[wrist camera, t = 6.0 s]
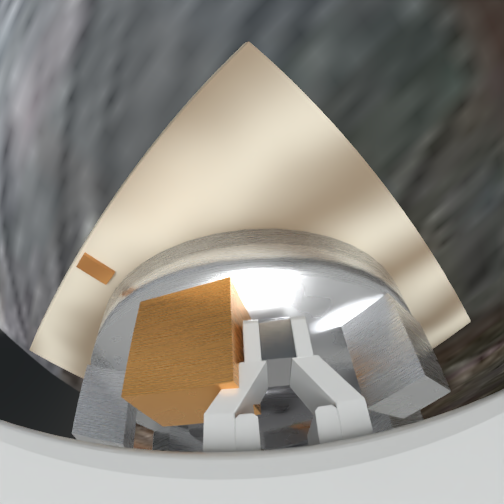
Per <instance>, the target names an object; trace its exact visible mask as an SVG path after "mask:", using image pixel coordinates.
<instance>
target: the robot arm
mask: <svg viewBox="0 0 504 504" xmlns="http://www.w3.org/2000/svg"><path fill="white" fill-rule="evenodd" d="M258 322H259V324H258ZM243 345H244V362H240V363H239V388H233V389H221V391H220V392H219V393H218V395H217V396H216V398H215V399H214V401H213V402H212V403H211V405H210V406H209V408H208V409H207V410H206V412H205V413H204V430H203V452H175V451H158V450H146V449H135V448H126V447H118V446H111V445H104V444H97V443H91V442H86V441H80V440H75V439H70V438H65V437H61V436H56V435H52V434H47V433H44V432H40V431H36V430H32V429H28V428H25V427H21V426H18V425H15V424H11V423H8V422H5V421H2V420H0V504H504V389H503V390H500V391H498V392H496V393H494V394H492V395H489V396H487V397H485V398H482V399H480V400H477V401H475V402H473V403H470V404H468V405H465V406H462V407H460V408H457V409H454V410H452V411H449V412H446V413H443V414H440V415H437V416H434V417H431V418H428V419H425V420H422V421H419V422H415V423H412V424H408V425H405V426H401V427H398V428H394V429H390V430H386V431H382V432H378V433H373V429H372V425H371V421H370V417H369V413H368V409H367V405H366V401H365V398H364V397H363V396H362V395H361V394H360V393H359V392H357V391H356V390H355V389H354V388H353V387H352V386H351V385H350V384H349V383H348V382H347V381H346V380H344V379H343V378H342V377H341V376H340V375H339V374H338V373H337V372H336V371H335V370H334V369H333V368H331V367H330V366H329V365H328V364H327V363H326V362H325V361H324V360H323V359H322V358H321V357H320V356H319V355H314V354H313V349H312V344H311V340H310V335H309V330H308V326H307V321H306V318H305V316H294V317H281V318H271V319H259V320H244V321H243ZM287 385H290V387H291V389H292V390H293V391H294V392H295V393H296V395H297V396H298V397H299V398H300V399H301V401H302V402H303V403H304V404H305V405H306V407H307V408H308V409H309V410H310V411H311V412H312V414H313V415H314V416H313V419H312V422H311V425H310V428H309V431H308V434H307V437H308V446H301V447H292V448H283V449H272V450H261V439H260V430H259V421H258V416H256V415H255V414H254V408H253V405H254V404H260V403H261V401H262V399H263V397H264V395H265V393H266V391H267V389H268V387H275V386H287Z"/></svg>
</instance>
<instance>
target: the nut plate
mask: <svg viewBox="0 0 504 504" xmlns="http://www.w3.org/2000/svg"><path fill="white" fill-rule="evenodd" d="M245 229H286V230H297V231H306V232H310V233H315V234H319V235H324V236H328V237H332V238H334V239H337V240H340V241H343V242H345V243H348V244H351V245H353V246H355V247H356V248H358V249H360V250H362V251H363V252H365V253H367V254H369V255H370V256H371V257H373V258H374V259H375V260H376V261H377V262H379V263H380V264H381V265H382V266H383V267H384V268H385V269H386V270H387V272H388V273H389V274H390V275H391V277H392V278H393V280H394V282H395V283H396V285H397V287H398V289H399V291H400V293H401V295H402V297H403V299H404V300H405V302H406V304H407V306H408V308H409V310H410V312H411V314H412V316H413V317H414V318H415V319H416V320H417V321H418V322H419V323H420V324H421V326H422V328H423V330H424V332H425V334H426V337H427V339H428V341H429V343H430V345H431V347H432V349H433V348H434V347H436V346H437V345H439V344H440V343H442V342H443V341H445V340H446V339H447V338H449V337H450V336H452V335H453V334H454V333H456V332H457V331H459V330H460V329H461V328H463V327H464V326H465V325H467V324H468V323H469V322H471V321H470V319H469V317H468V315H467V313H466V311H465V309H464V307H463V305H462V304H461V302H460V300H459V298H458V296H457V295H456V293H455V291H454V289H453V288H452V286H451V284H450V282H449V281H448V279H447V277H446V276H445V274H444V272H443V271H442V269H441V267H440V266H439V264H438V262H437V261H436V259H435V258H434V256H433V254H432V253H431V251H430V250H429V248H428V247H427V245H426V244H425V242H424V240H423V239H422V237H421V236H420V234H419V233H418V231H417V230H416V229H415V227H414V226H413V224H412V223H411V221H410V220H409V218H408V217H407V216H406V214H405V213H404V211H403V210H402V208H401V207H400V206H399V204H398V203H397V202H396V200H395V199H394V198H393V196H392V195H391V193H390V192H389V191H388V189H387V188H386V187H385V186H384V184H383V183H382V182H381V180H380V179H379V178H378V176H377V175H376V174H375V173H374V171H373V170H372V169H371V168H370V166H369V165H368V164H367V163H366V161H365V160H364V159H363V158H362V157H361V155H360V154H359V153H358V152H357V151H356V149H355V148H354V147H353V146H352V145H351V144H350V142H349V141H348V140H347V139H346V138H345V137H344V135H343V134H342V133H341V132H340V131H339V130H338V129H337V128H336V126H335V125H334V124H333V123H332V122H331V121H330V120H329V119H328V118H327V117H326V115H325V114H324V113H323V112H322V111H321V110H320V109H319V108H318V107H317V106H316V105H315V104H314V103H313V102H312V101H311V100H310V99H309V98H308V96H307V95H306V94H305V93H304V92H303V91H302V90H301V89H300V88H299V87H298V86H297V85H296V84H295V83H294V82H293V81H291V80H290V79H289V78H288V77H287V76H286V75H285V74H284V73H283V72H282V71H281V70H280V69H279V68H278V67H277V66H276V65H275V64H274V63H272V62H271V61H270V60H269V59H268V58H267V57H266V56H265V55H264V54H263V53H261V52H260V51H259V50H258V49H257V48H256V47H255V46H253V45H252V44H251V43H250V42H246V43H245V44H243V45H242V46H241V47H240V48H239V49H238V50H237V51H236V52H235V53H234V54H233V55H232V56H231V57H230V58H229V59H228V60H227V61H226V62H225V63H224V64H223V65H222V66H221V67H220V68H219V69H218V70H217V71H216V72H215V73H214V74H213V75H212V76H211V77H210V78H209V79H208V81H207V82H206V83H205V84H204V85H203V86H202V87H201V88H200V89H199V90H198V91H197V92H196V94H195V95H194V96H193V97H192V98H191V99H190V100H189V101H188V102H187V104H186V105H185V106H184V107H183V108H182V109H181V110H180V112H179V113H178V114H177V115H176V116H175V117H174V119H173V120H172V121H171V122H170V123H169V125H168V126H167V127H166V128H165V129H164V131H163V132H162V133H161V134H160V136H159V137H158V138H157V139H156V141H155V142H154V143H153V144H152V146H151V147H150V148H149V149H148V151H147V152H146V153H145V155H144V156H143V157H142V159H141V160H140V161H139V163H138V164H137V165H136V167H135V168H134V169H133V171H132V172H131V173H130V175H129V176H128V177H127V179H126V180H125V182H124V183H123V184H122V186H121V187H120V189H119V190H118V192H117V193H116V194H115V196H114V197H113V199H112V200H111V202H110V203H109V205H108V206H107V208H106V209H105V211H104V212H103V214H102V215H101V217H100V218H99V220H98V221H97V223H96V225H95V226H94V228H93V229H92V231H91V232H90V234H89V236H88V237H87V239H86V241H85V242H84V244H83V246H82V247H81V249H80V251H79V252H78V254H77V256H76V257H75V259H74V261H73V263H72V264H71V266H70V268H69V270H68V271H67V273H66V275H65V277H64V279H63V281H62V282H61V284H60V286H59V288H58V290H57V292H56V294H55V296H54V298H53V300H52V301H51V303H50V305H49V307H48V309H47V311H46V314H45V316H44V318H43V320H42V322H41V324H40V326H39V328H38V330H37V333H36V335H35V338H34V340H33V343H32V345H31V348H30V351H32V352H34V353H36V354H37V355H39V356H41V357H43V358H44V359H46V360H48V361H50V362H52V363H54V364H56V365H57V366H59V367H61V368H63V369H65V370H67V371H69V372H71V373H73V374H75V375H77V376H79V377H81V378H83V379H84V376H85V372H86V368H87V364H88V365H91V356H92V352H93V349H94V345H95V342H96V338H97V335H98V331H99V328H100V325H101V321H102V318H103V315H104V312H105V309H106V306H107V303H108V300H109V299H110V297H111V295H112V294H113V292H114V290H115V289H116V287H117V286H118V285H119V284H120V283H121V282H122V280H123V279H124V278H125V277H126V276H127V275H128V274H129V273H130V272H132V271H133V270H134V269H135V268H137V267H138V266H139V265H141V264H142V263H143V262H144V261H146V260H148V259H150V258H152V257H153V256H155V255H157V254H159V253H160V252H162V251H164V250H166V249H169V248H171V247H174V246H176V245H179V244H181V243H184V242H187V241H189V240H193V239H197V238H201V237H204V236H208V235H212V234H216V233H223V232H230V231H237V230H245Z"/></svg>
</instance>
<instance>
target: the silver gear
mask: <svg viewBox="0 0 504 504" xmlns="http://www.w3.org/2000/svg"><path fill="white" fill-rule="evenodd" d="M294 316H305V318H306V321H307V326H308V330H309V335H310V340H311V344H312V349H313V354H314V355H319V356H320V357H321V358H322V359H323V360H324V361H325V362H326V363H327V364H328V365H329V366H330V367H331V368H333V369H334V370H335V371H336V372H337V373H338V374H339V375H340V376H341V377H342V378H343V379H344V380H346V381H347V382H348V383H349V384H350V385H351V386H352V387H353V388H354V389H355V390H356V391H357V392H359V393H360V394H361V395H362V396H363V397H364V398H365V401H366V405H367V409H368V413H369V417H370V421H371V425H372V429H373V433H378V432H382V431H386V430H390V429H394V428H398V427H401V426H405V425H408V424H412V423H415V422H419V421H422V420H423V417H422V414H421V411H420V409H422V408H424V407H425V406H427V405H429V404H431V403H432V402H434V401H436V400H437V399H439V398H441V397H442V396H444V395H446V394H447V393H449V392H451V390H450V388H449V385H448V383H447V381H446V378H445V376H444V374H443V371H442V369H441V367H440V365H439V362H438V360H437V358H436V356H435V354H434V351H433V349H432V347H431V345H430V343H429V341H428V339H427V337H426V334H425V332H424V330H423V328H422V326H421V324H420V323H419V322H418V321H417V320H416V319H415V318H414V317H413V316H412V314H411V312H410V310H409V308H408V306H407V304H406V302H405V300H404V299H403V297H402V295H401V293H400V291H399V289H398V287H397V285H396V283H395V282H394V280H393V278H392V277H391V275H390V274H389V273H388V272H387V270H386V269H385V268H384V267H383V266H382V265H381V264H380V263H379V262H377V261H376V260H375V259H374V258H373V257H371V256H370V255H369V254H367V253H365V252H363V251H362V250H360V249H358V248H356V247H355V246H353V245H351V244H348V243H345V242H343V241H340V240H337V239H334V238H332V237H328V236H324V235H319V234H315V233H310V232H306V231H297V230H286V229H245V230H237V231H230V232H223V233H216V234H212V235H208V236H204V237H201V238H197V239H193V240H189V241H187V242H184V243H181V244H179V245H176V246H174V247H171V248H169V249H166V250H164V251H162V252H160V253H159V254H157V255H155V256H153V257H152V258H150V259H148V260H146V261H144V262H143V263H142V264H141V265H139V266H138V267H137V268H135V269H134V270H133V271H132V272H130V273H129V274H128V275H127V276H126V277H125V278H124V279H123V280H122V282H121V283H120V284H119V285H118V286H117V287H116V289H115V290H114V292H113V294H112V295H111V297H110V299H109V300H108V303H107V306H106V309H105V312H104V315H103V318H102V321H101V325H100V328H99V331H98V335H97V338H96V342H95V345H94V349H93V352H92V356H91V365H88V364H87V368H86V372H85V376H84V380H83V384H82V388H81V392H80V397H79V401H78V405H77V410H76V415H75V420H74V425H73V430H72V434H73V435H74V436H75V438H76V439H77V440H80V441H86V442H91V443H97V444H104V445H111V446H118V447H126V448H133V444H134V434H135V425H136V423H138V424H140V425H142V426H144V427H146V428H148V429H151V430H153V431H154V436H153V450H158V451H175V452H203V430H204V413H205V412H206V410H207V409H208V408H209V406H210V405H211V403H212V402H213V401H214V399H215V398H216V396H217V395H218V393H219V392H220V391H221V389H233V388H239V363H240V362H244V345H243V321H244V320H259V319H271V318H281V317H294ZM258 324H259V322H258ZM253 408H254V414H255V415H256V416H258V421H259V430H260V439H261V449H265V450H272V449H283V448H292V447H301V446H308V437H307V434H308V431H309V428H310V425H311V422H312V419H313V416H314V415H313V414H312V412H311V411H310V410H309V409H308V408H307V407H306V405H305V404H304V403H303V402H302V401H301V399H300V398H299V397H298V396H297V395H296V393H295V392H294V391H293V390H292V389H291V387H290V385H287V386H275V387H268V389H267V391H266V393H265V395H264V397H263V399H262V401H261V403H260V404H254V405H253Z"/></svg>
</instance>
